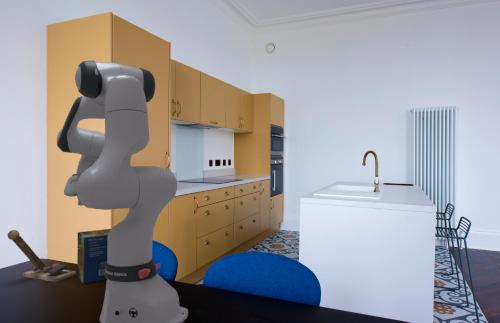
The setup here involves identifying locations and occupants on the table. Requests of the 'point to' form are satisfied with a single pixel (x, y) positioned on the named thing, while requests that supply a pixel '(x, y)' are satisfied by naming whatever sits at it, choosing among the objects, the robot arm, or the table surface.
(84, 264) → the protein box
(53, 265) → the button
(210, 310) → the table surface
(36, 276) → the board
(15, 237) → the lever
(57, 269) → the block
